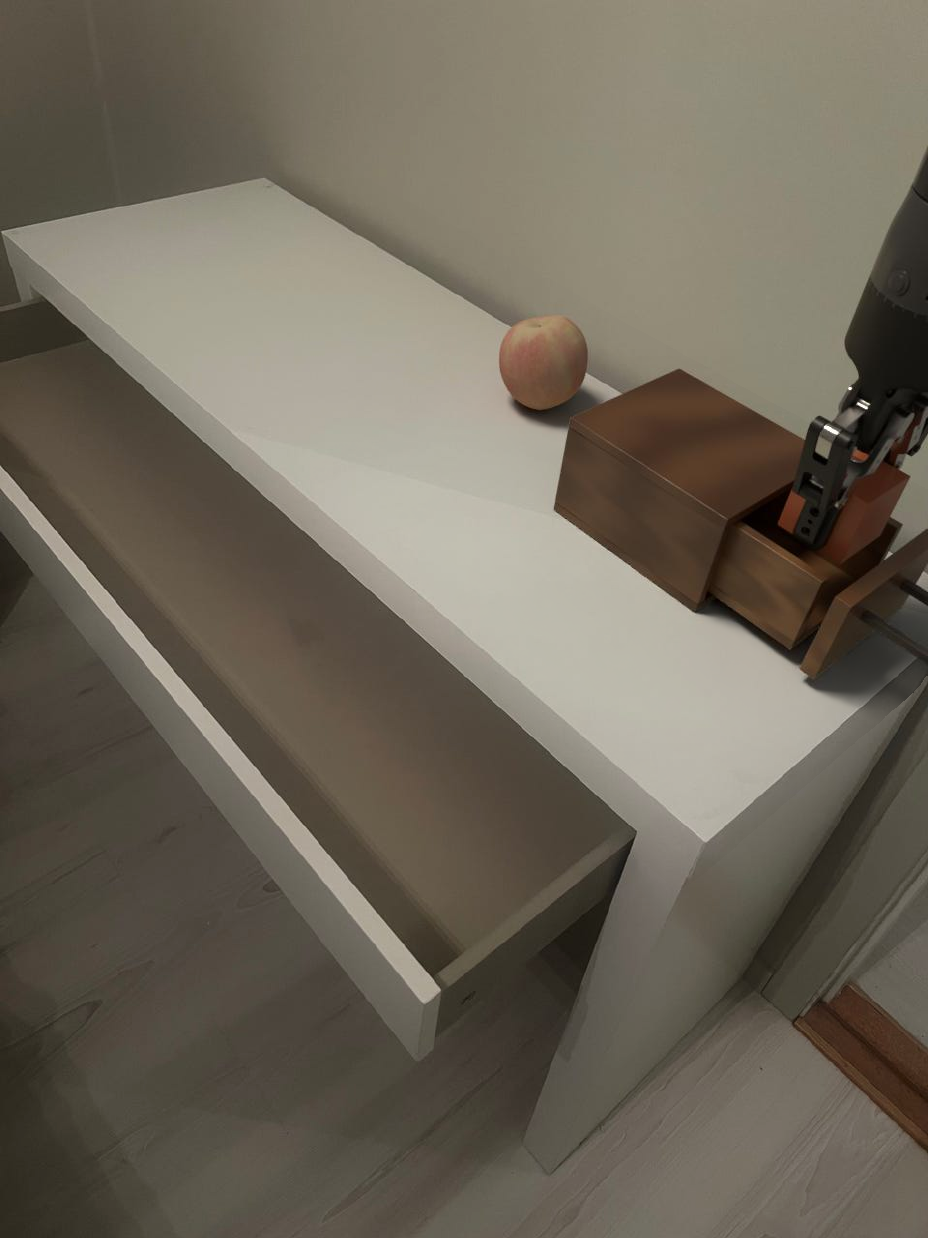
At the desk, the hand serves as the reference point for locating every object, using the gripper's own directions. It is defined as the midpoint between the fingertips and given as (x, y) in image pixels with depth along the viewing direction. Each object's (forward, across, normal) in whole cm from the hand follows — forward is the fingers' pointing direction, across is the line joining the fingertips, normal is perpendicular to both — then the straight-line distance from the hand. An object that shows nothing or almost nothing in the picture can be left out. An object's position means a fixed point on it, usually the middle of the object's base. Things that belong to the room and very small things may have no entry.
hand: (831, 525), depth 62 cm
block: (0, 0, 0) cm, 0 cm away
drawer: (+7, 0, -2) cm, 7 cm away
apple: (+8, +4, +31) cm, 32 cm away
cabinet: (+8, 0, +12) cm, 14 cm away
